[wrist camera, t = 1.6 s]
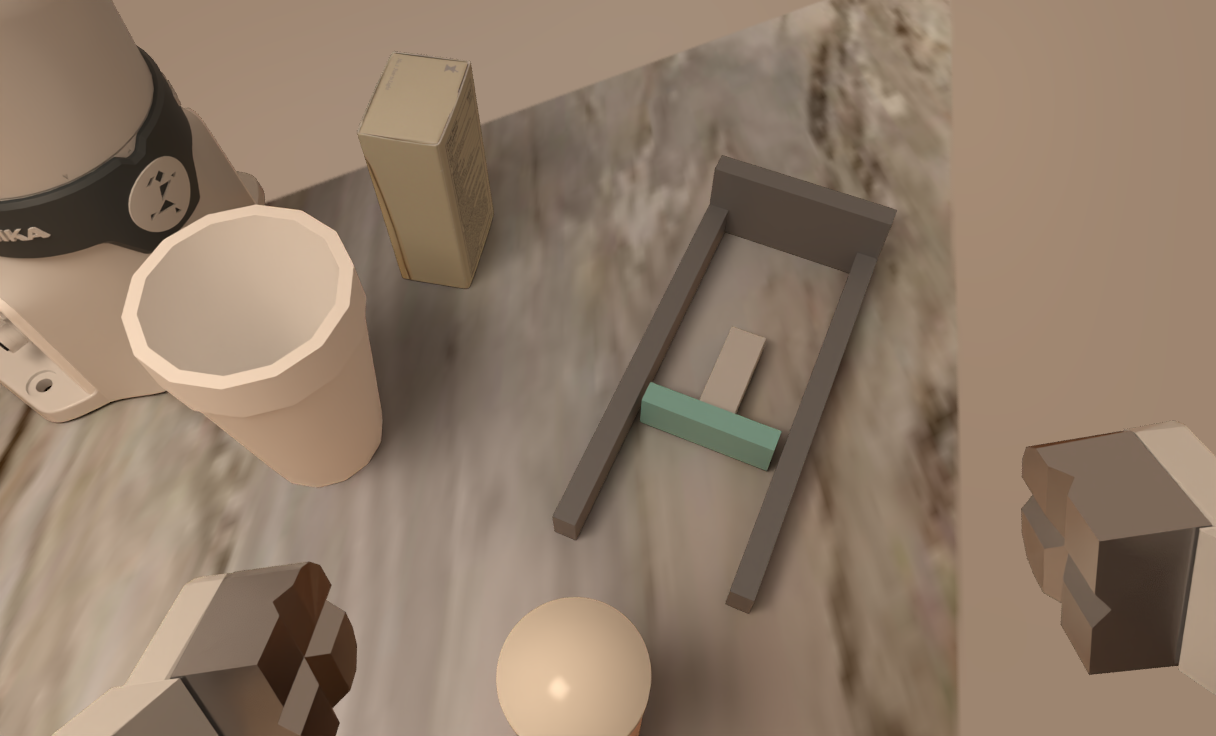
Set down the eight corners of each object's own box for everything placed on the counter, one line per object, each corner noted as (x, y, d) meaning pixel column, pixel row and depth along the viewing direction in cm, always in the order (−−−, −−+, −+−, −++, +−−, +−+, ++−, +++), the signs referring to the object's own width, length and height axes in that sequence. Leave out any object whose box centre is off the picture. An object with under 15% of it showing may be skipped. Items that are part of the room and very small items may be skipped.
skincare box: (430, 204, 57) (390, 46, 46) (498, 214, 56) (473, 56, 46) (400, 282, 54) (350, 131, 43) (472, 294, 53) (439, 144, 43)
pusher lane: (748, 613, 43) (763, 581, 39) (554, 531, 45) (549, 491, 41) (874, 265, 54) (897, 209, 50) (713, 212, 56) (721, 155, 52)
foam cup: (350, 331, 52) (280, 173, 41) (446, 437, 48) (398, 295, 37) (203, 429, 48) (82, 286, 37) (294, 551, 45) (191, 432, 34)
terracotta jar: (501, 761, 40) (468, 715, 30) (553, 648, 42) (538, 573, 33) (612, 816, 39) (613, 785, 29) (659, 696, 41) (674, 633, 32)
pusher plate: (766, 471, 47) (774, 451, 45) (640, 421, 48) (641, 400, 46) (806, 366, 50) (815, 343, 48) (687, 323, 52) (690, 299, 50)
